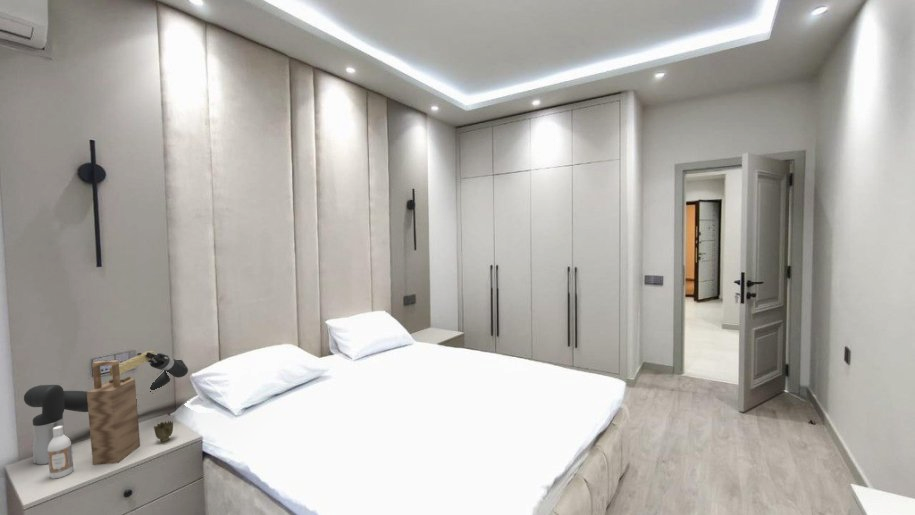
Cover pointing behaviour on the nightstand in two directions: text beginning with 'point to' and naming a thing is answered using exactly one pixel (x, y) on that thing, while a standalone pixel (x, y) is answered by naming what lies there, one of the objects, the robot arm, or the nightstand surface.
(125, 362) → the gold square bar
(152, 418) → the nightstand surface
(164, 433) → the cup
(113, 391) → the walnut stand
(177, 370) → the robot arm
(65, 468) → the bath foam
